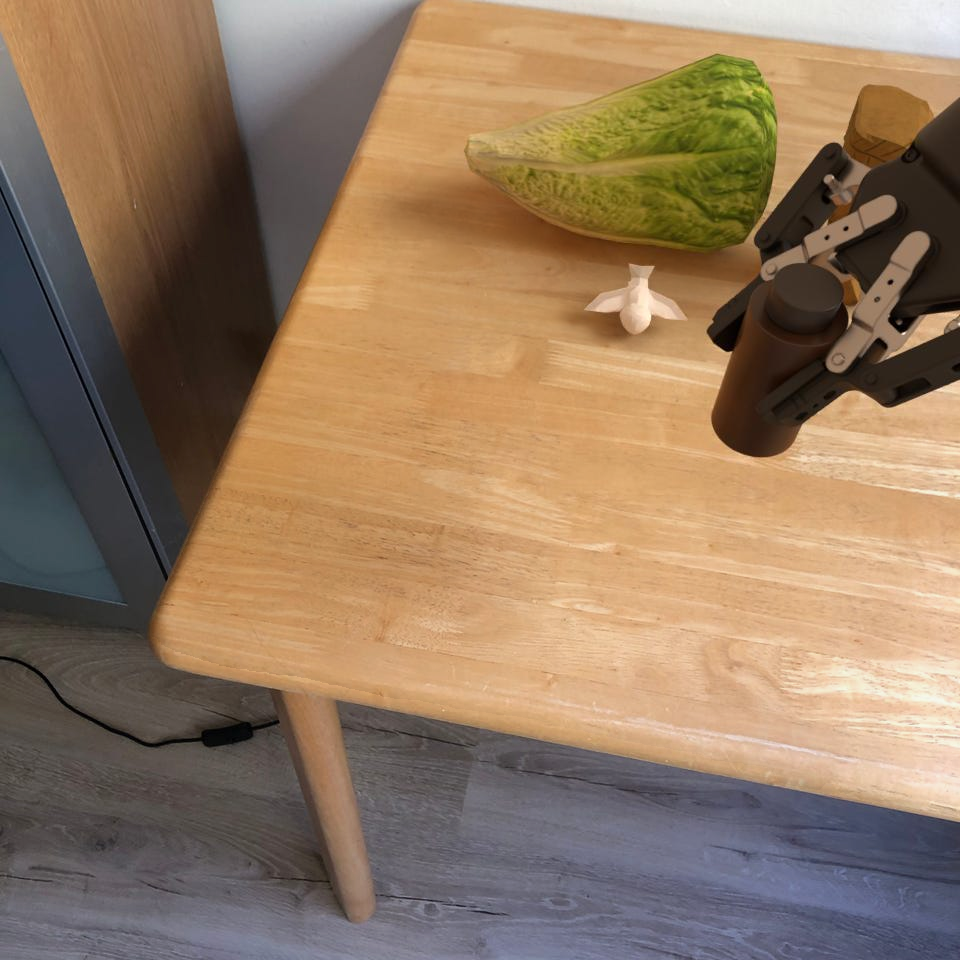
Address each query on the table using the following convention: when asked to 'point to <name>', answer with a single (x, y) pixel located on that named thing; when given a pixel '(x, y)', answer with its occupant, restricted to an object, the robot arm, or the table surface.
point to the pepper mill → (777, 353)
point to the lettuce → (646, 159)
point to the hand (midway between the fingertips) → (742, 379)
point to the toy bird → (637, 302)
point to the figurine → (880, 139)
